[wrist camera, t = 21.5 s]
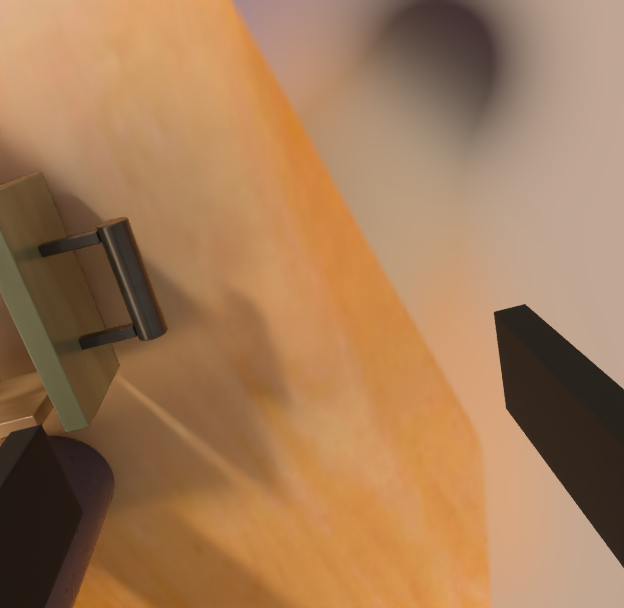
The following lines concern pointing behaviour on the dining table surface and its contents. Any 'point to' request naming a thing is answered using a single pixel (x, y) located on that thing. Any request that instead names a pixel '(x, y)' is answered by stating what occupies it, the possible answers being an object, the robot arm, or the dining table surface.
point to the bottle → (94, 502)
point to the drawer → (60, 311)
